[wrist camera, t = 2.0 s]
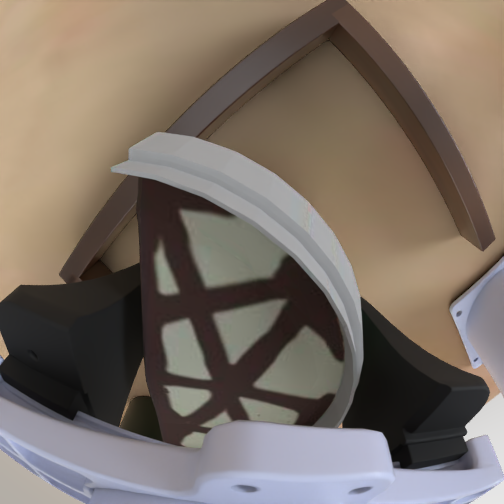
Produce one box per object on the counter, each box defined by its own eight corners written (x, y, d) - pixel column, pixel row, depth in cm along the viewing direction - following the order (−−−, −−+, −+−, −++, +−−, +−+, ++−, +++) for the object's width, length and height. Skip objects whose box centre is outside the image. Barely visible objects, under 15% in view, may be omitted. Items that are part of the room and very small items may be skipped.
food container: (295, 347, 18) (302, 491, 9) (201, 333, 18) (158, 472, 9) (344, 149, 13) (468, 197, 4) (219, 129, 13) (111, 135, 4)
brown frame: (473, 224, 14) (496, 239, 12) (232, 390, 20) (228, 415, 18) (328, 12, 10) (338, -8, 8) (79, 257, 17) (58, 274, 14)
